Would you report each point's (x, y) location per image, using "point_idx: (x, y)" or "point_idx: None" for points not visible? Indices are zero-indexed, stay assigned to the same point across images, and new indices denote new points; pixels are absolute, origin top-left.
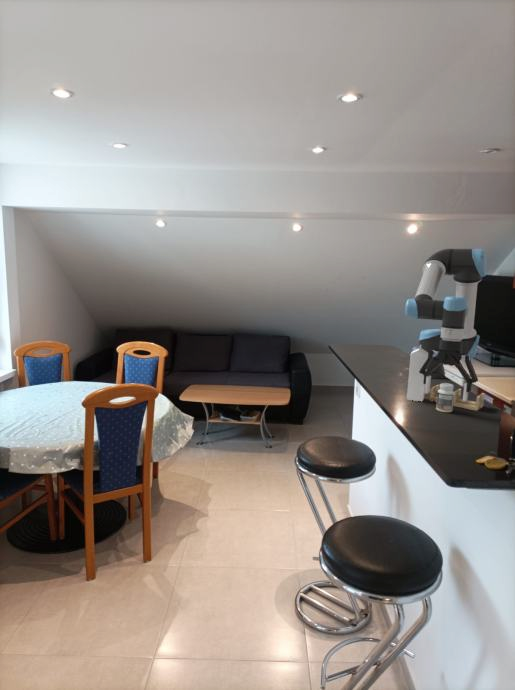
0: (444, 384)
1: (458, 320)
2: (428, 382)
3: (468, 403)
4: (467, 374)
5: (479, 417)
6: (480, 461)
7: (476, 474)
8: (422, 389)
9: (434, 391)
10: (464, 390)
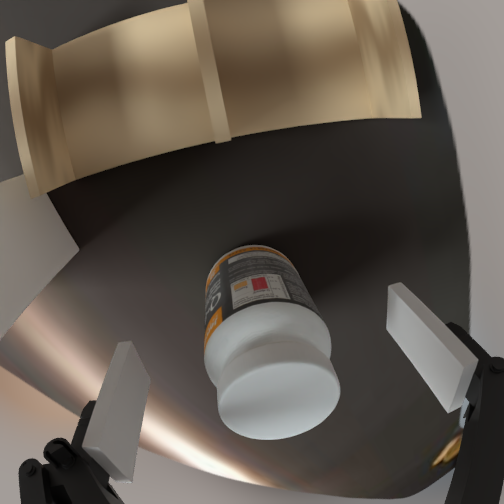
0: (265, 418)
1: None
2: (132, 433)
3: (302, 63)
4: (501, 435)
5: (419, 232)
6: (439, 460)
7: (433, 478)
8: (40, 289)
9: (45, 128)
10: (425, 372)
